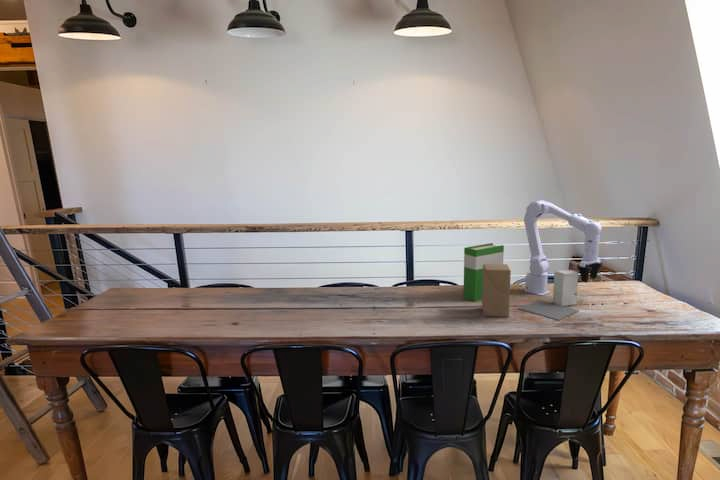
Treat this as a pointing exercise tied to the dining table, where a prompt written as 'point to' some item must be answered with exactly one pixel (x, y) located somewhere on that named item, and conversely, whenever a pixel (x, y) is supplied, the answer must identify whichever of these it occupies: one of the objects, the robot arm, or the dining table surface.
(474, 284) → the hardback book
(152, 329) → the dining table surface
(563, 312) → the mat
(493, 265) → the wooden block
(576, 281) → the skincare box
